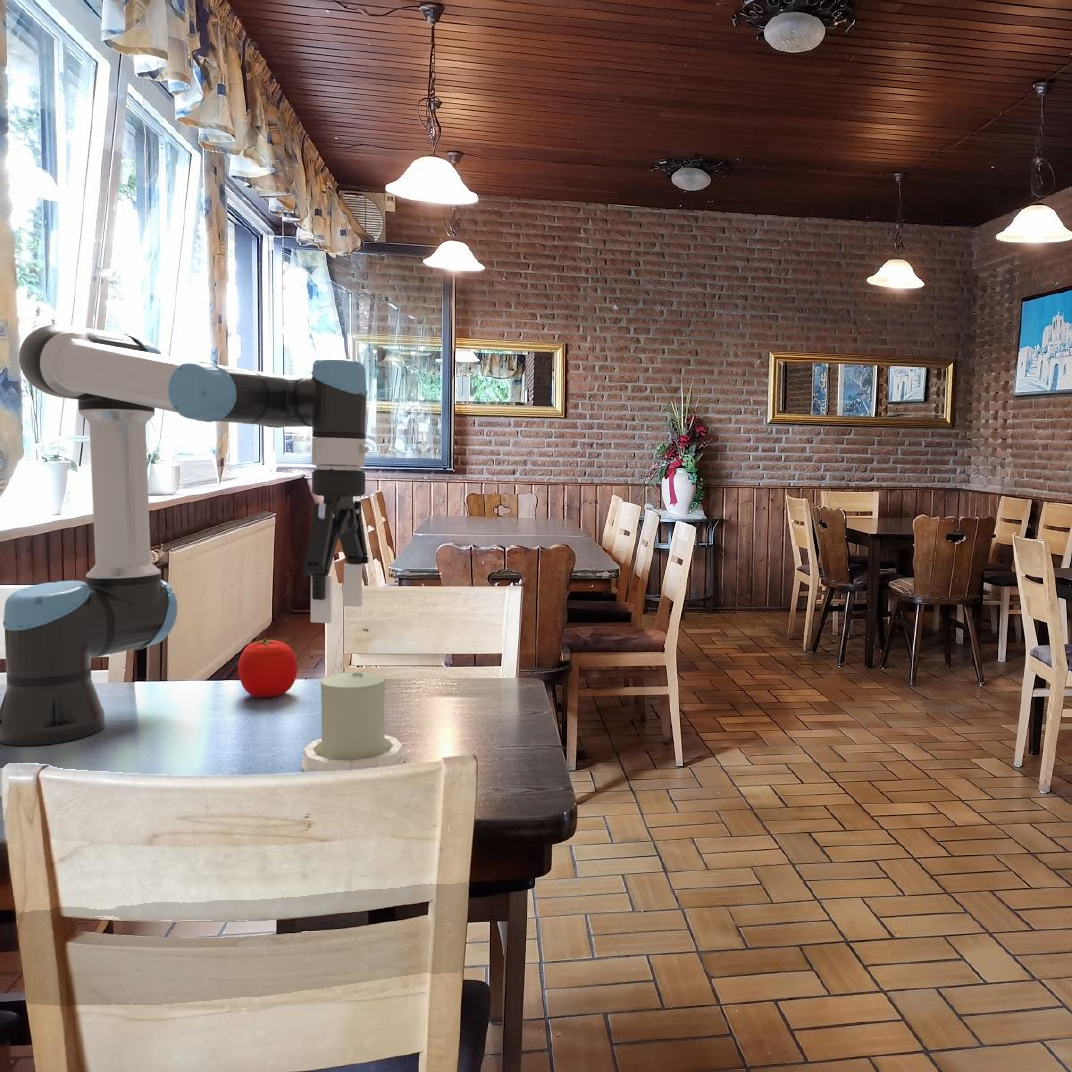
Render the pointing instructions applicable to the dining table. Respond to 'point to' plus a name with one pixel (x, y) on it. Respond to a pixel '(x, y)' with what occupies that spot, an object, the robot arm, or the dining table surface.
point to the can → (353, 715)
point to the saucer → (318, 763)
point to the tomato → (267, 668)
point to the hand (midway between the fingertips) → (337, 613)
